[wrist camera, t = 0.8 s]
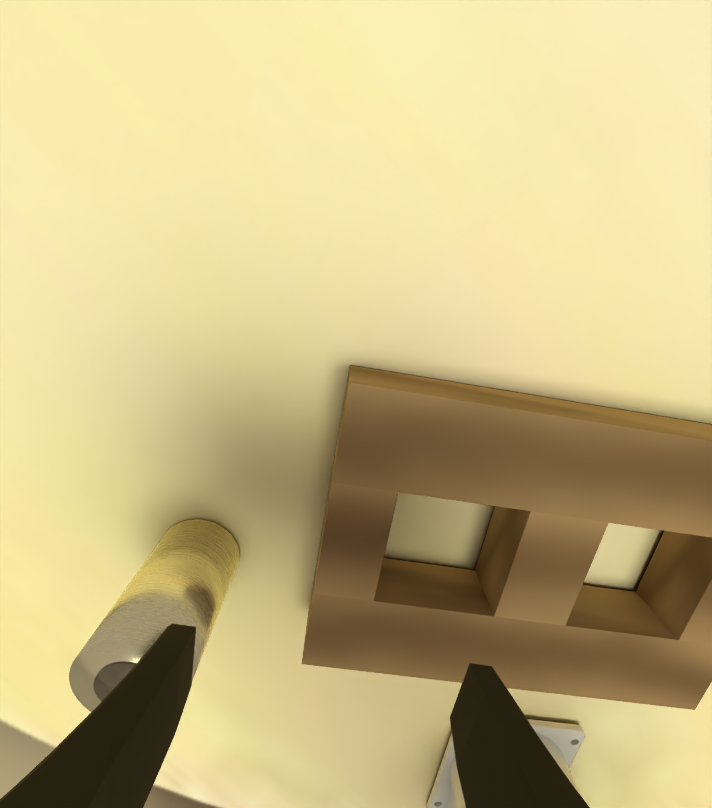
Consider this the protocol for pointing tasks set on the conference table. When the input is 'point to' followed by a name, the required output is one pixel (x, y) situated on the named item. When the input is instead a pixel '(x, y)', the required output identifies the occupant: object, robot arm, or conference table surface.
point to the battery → (159, 606)
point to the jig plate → (517, 543)
